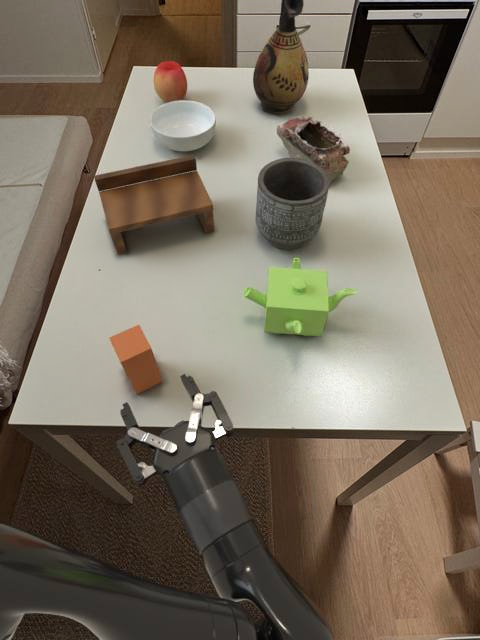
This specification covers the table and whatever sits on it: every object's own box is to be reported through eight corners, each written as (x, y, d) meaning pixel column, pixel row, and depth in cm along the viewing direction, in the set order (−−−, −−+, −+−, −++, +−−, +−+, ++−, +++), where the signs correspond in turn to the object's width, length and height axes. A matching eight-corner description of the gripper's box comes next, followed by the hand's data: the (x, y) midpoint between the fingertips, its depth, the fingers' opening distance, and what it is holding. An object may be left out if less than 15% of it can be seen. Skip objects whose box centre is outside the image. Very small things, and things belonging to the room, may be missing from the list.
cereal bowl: (158, 165, 107) (153, 140, 101) (150, 128, 116) (146, 103, 110) (222, 156, 109) (221, 131, 103) (210, 121, 118) (208, 96, 112)
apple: (155, 94, 126) (150, 58, 117) (187, 91, 127) (183, 56, 118) (157, 111, 120) (152, 75, 112) (190, 108, 121) (187, 72, 113)
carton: (136, 394, 72) (120, 362, 62) (125, 371, 74) (108, 337, 64) (162, 381, 73) (151, 348, 63) (151, 359, 76) (138, 324, 66)
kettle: (345, 322, 81) (359, 286, 71) (295, 365, 75) (303, 333, 66) (290, 277, 87) (296, 239, 77) (240, 314, 81) (240, 278, 72)
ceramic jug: (308, 120, 119) (327, -6, 94) (254, 121, 118) (259, -5, 93) (299, 89, 128) (315, -34, 103) (249, 90, 127) (253, -33, 102)
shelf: (118, 256, 89) (104, 217, 80) (107, 215, 96) (93, 175, 87) (214, 232, 94) (212, 193, 84) (197, 194, 101) (193, 154, 91)
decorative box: (302, 197, 100) (308, 162, 92) (262, 152, 110) (264, 117, 102) (347, 181, 104) (356, 146, 96) (303, 139, 114) (309, 104, 106)
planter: (328, 228, 95) (342, 173, 82) (297, 267, 88) (308, 214, 76) (275, 204, 99) (281, 148, 86) (242, 240, 92) (243, 185, 80)
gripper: (261, 461, 48) (198, 355, 56) (147, 528, 44) (97, 404, 52) (258, 476, 54) (202, 379, 62) (159, 536, 51) (112, 424, 58)
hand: (154, 390), depth 57 cm, fingers open, 8 cm apart
